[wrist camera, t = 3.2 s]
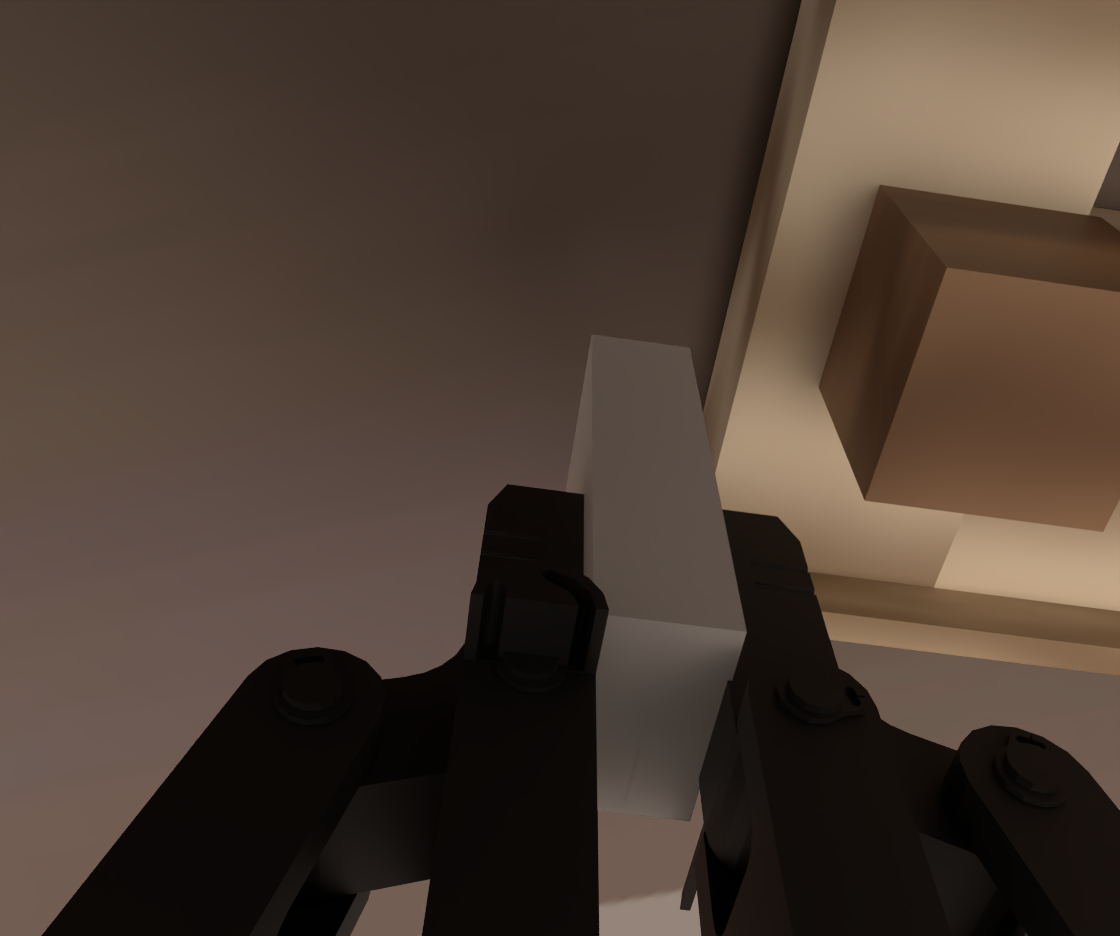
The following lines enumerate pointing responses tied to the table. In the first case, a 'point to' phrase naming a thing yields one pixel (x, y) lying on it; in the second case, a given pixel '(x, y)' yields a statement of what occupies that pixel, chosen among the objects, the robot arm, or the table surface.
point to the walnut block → (981, 360)
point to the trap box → (823, 280)
